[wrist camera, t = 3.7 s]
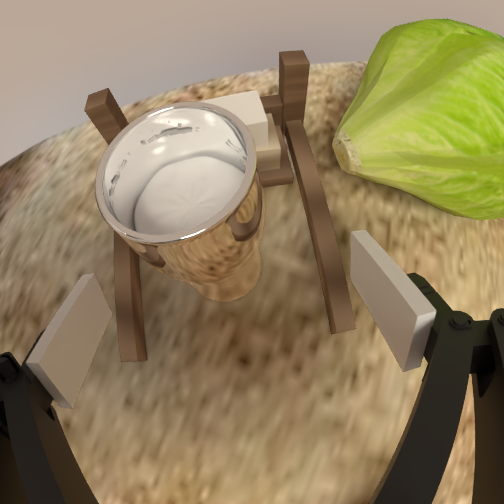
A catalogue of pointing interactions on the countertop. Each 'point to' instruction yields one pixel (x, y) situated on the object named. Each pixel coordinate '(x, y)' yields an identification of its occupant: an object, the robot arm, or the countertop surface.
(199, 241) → the beer glass
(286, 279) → the countertop surface
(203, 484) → the countertop surface
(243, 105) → the offcut upper
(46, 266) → the countertop surface
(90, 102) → the rack
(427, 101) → the lettuce
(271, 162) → the offcut lower
